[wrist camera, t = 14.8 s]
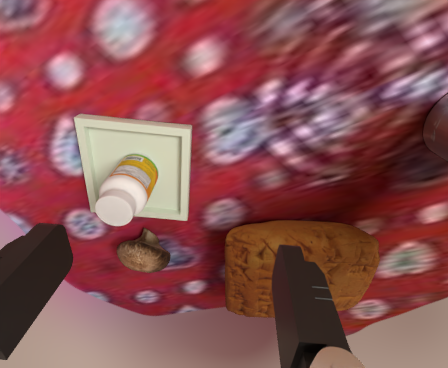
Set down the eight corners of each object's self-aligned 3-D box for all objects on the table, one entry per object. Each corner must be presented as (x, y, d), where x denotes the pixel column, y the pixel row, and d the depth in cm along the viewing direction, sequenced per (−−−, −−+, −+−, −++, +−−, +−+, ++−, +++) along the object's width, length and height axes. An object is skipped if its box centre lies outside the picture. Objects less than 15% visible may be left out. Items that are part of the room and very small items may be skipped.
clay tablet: (220, 281, 49) (219, 323, 42) (226, 201, 41) (226, 238, 34) (343, 288, 49) (362, 331, 42) (375, 210, 41) (405, 249, 34)
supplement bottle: (141, 193, 39) (117, 239, 31) (111, 167, 37) (77, 208, 29) (167, 172, 38) (149, 215, 29) (138, 144, 36) (109, 180, 27)
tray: (192, 125, 35) (190, 129, 33) (188, 214, 42) (187, 220, 40) (80, 113, 34) (73, 117, 33) (95, 205, 41) (90, 212, 40)
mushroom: (142, 221, 39) (130, 267, 36) (185, 235, 44) (177, 276, 41) (115, 225, 44) (103, 265, 42) (157, 237, 49) (148, 274, 47)
